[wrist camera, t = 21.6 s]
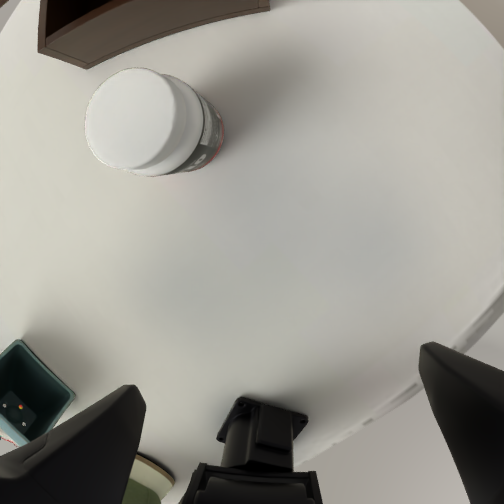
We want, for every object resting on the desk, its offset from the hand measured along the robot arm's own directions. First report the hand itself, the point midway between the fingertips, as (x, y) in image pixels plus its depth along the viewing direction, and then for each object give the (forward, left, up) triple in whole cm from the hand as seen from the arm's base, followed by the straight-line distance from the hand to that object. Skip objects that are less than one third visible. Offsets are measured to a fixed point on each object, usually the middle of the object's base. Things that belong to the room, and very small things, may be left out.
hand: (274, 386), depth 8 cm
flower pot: (-28, +21, -8) cm, 36 cm away
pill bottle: (+6, +8, -12) cm, 15 cm away
